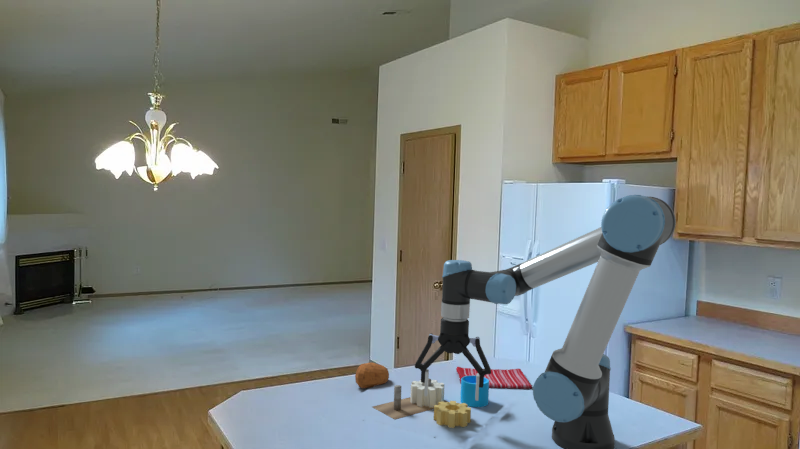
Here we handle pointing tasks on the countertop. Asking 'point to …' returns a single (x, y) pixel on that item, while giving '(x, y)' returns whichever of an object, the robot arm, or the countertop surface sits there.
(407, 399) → the walnut board
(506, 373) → the dish towel
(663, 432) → the countertop surface
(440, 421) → the ochre gear
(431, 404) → the cream gear
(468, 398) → the mug
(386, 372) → the potato
